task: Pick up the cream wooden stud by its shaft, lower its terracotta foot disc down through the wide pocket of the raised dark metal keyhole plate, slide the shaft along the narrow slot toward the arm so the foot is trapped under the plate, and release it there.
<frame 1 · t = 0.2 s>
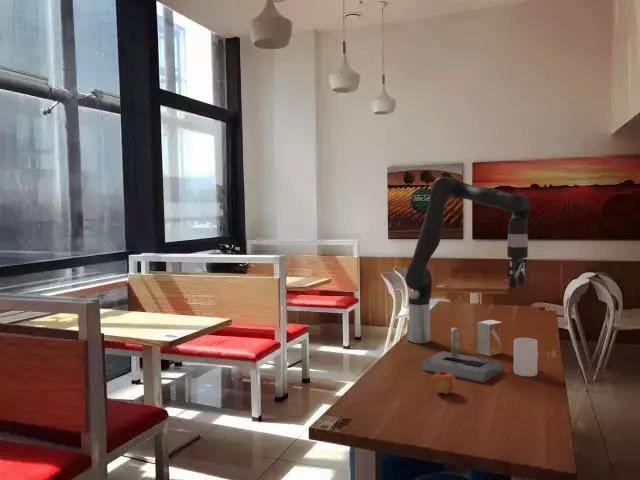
hand: (517, 286, 210), 29 cm above the table, fingers open, 8 cm apart
keyhole plate: (461, 370, 198), on the table
apple: (444, 393, 175), on the table
stud: (455, 358, 213), on the table
mug: (525, 371, 195), on the table
small box: (490, 353, 219), on the table
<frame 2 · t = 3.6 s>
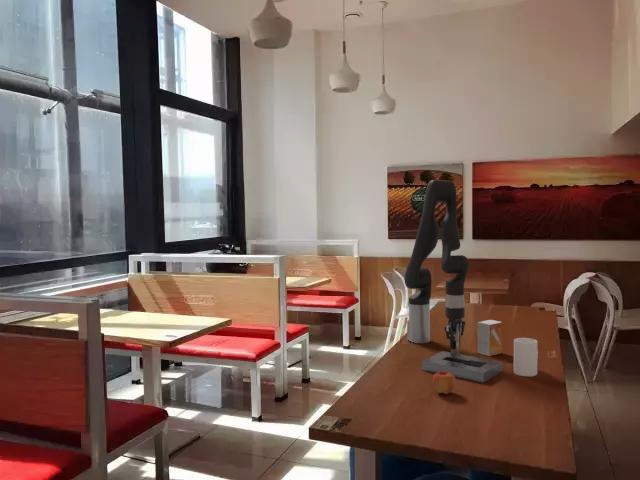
hand: (455, 348, 213), 4 cm above the table, fingers closed on stud, 3 cm apart
stud: (455, 358, 213), on the table, touching gripper
everything else where it was.
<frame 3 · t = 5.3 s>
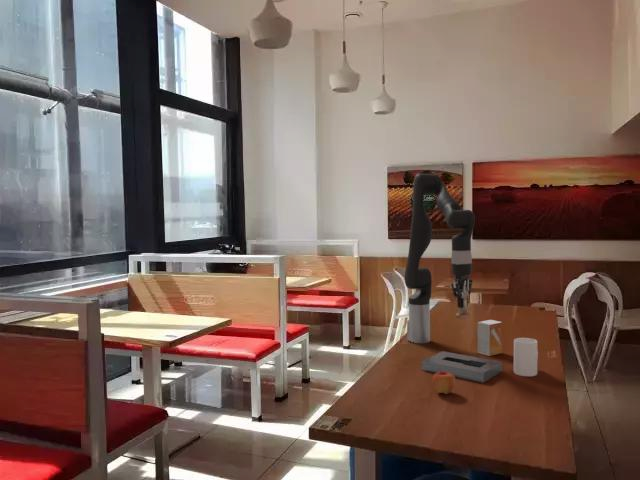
hand: (462, 306, 205), 22 cm above the table, fingers closed on stud, 3 cm apart
stud: (463, 317, 205), point 18 cm above the table, touching gripper
everything else where it was.
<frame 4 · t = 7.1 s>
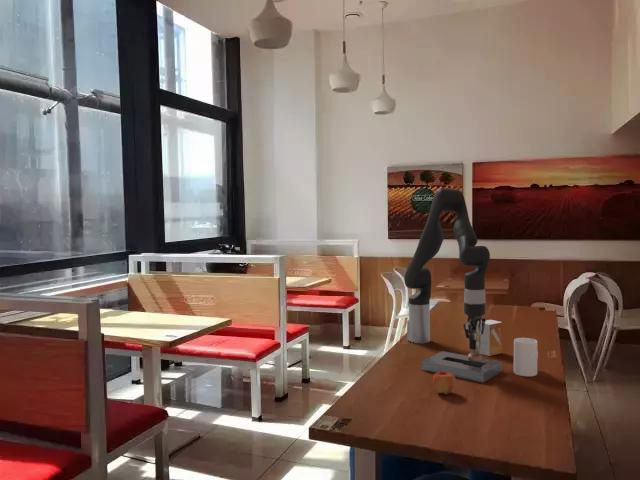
hand: (474, 348, 194), 9 cm above the table, fingers closed on stud, 3 cm apart
stud: (475, 359, 194), point 5 cm above the table, touching gripper
everything else where it was.
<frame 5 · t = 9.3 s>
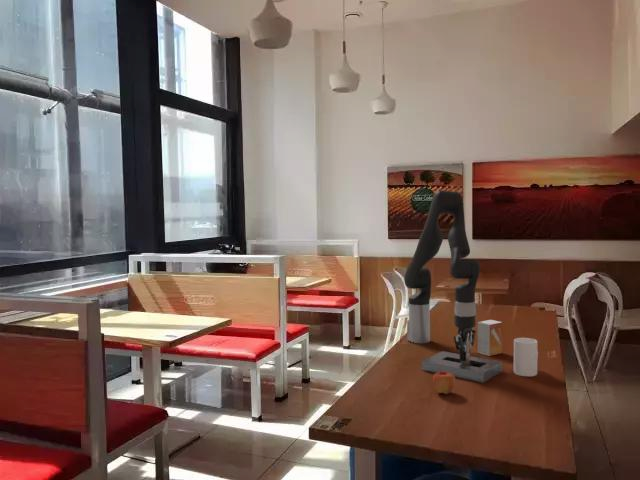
hand: (465, 359, 197), 4 cm above the table, fingers closed on stud, 3 cm apart
stud: (465, 370, 197), resting in keyhole plate, touching gripper
everything else where it was.
when the fingers open (5 cm above the table, at t = 10.8 s): stud stays where it is, resting in keyhole plate.
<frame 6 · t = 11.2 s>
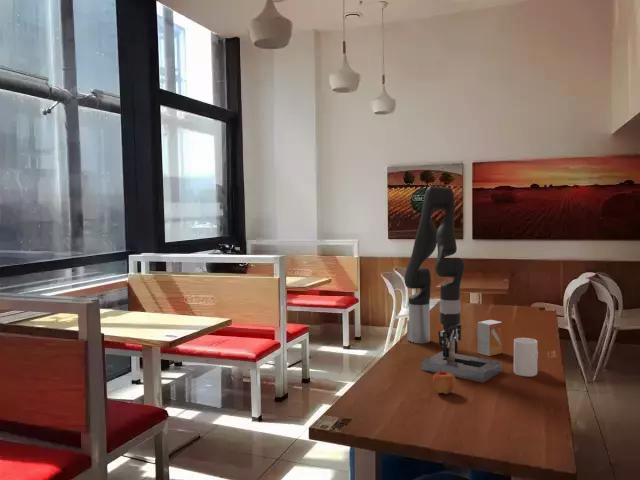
hand: (450, 354, 200), 5 cm above the table, fingers open, 6 cm apart
stud: (450, 368, 201), resting in keyhole plate
everything else where it was.
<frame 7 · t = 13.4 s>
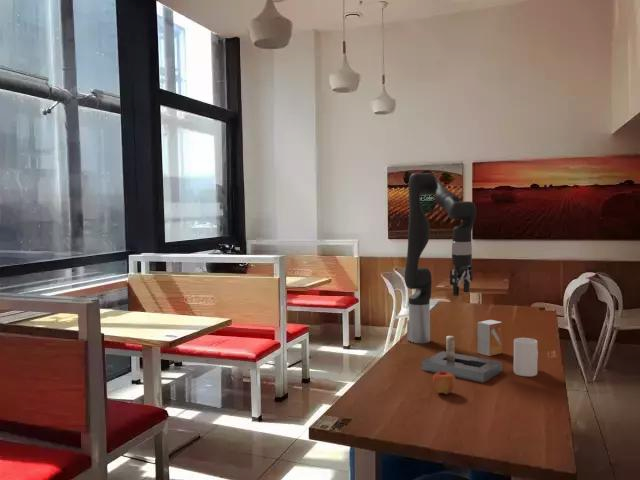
hand: (461, 294, 209), 26 cm above the table, fingers open, 8 cm apart
nothing on the table moved.
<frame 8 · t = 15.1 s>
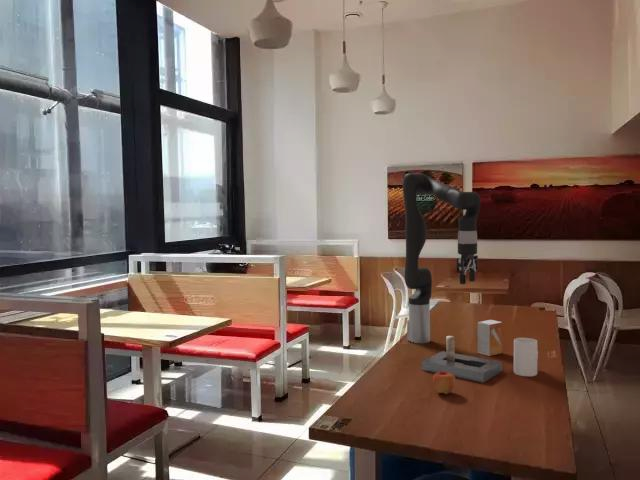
hand: (467, 282, 213), 30 cm above the table, fingers open, 8 cm apart
nothing on the table moved.
at the end: stud 1.3 cm from the target spot on the keyhole plate, point 0.0 cm above the keyhole plate's base; stud tilted 0°; the gripper is holding nothing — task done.
